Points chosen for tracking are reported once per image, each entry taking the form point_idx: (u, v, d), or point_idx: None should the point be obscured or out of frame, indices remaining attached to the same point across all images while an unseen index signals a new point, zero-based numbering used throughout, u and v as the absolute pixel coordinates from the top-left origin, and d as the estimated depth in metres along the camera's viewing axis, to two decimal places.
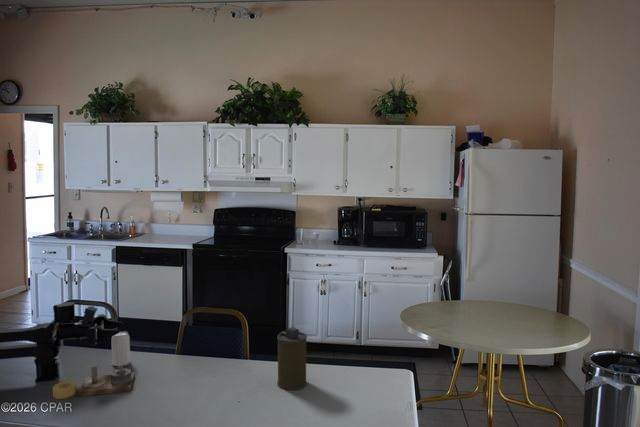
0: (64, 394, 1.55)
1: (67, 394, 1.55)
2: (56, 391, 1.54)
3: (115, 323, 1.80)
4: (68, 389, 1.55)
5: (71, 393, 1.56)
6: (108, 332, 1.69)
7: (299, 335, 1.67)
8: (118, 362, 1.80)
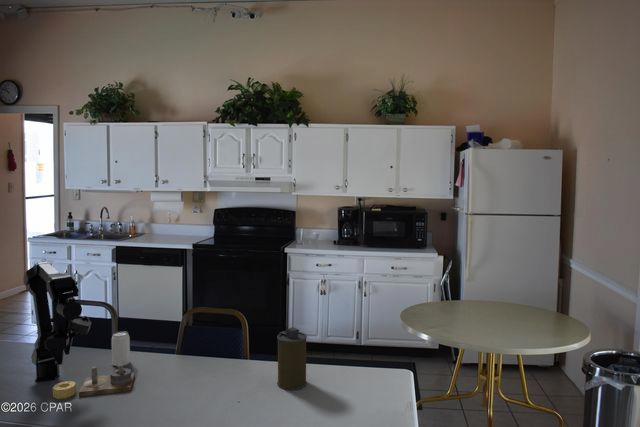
0: (64, 394, 1.55)
1: (67, 394, 1.55)
2: (56, 391, 1.54)
3: (67, 346, 1.61)
4: (68, 389, 1.55)
5: (71, 393, 1.56)
6: (59, 355, 1.51)
7: (299, 335, 1.67)
8: (118, 362, 1.80)
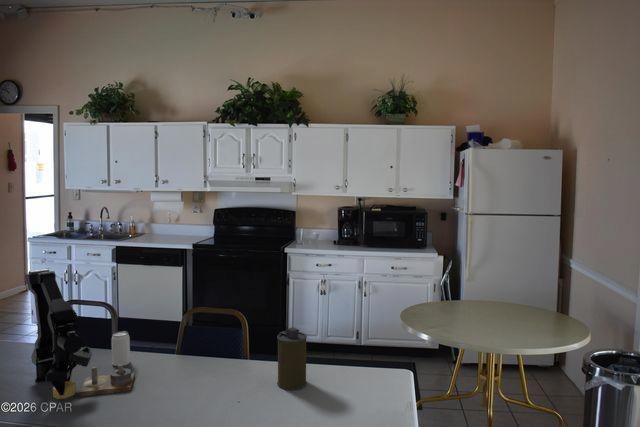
0: (64, 394, 1.55)
1: (67, 394, 1.55)
2: (56, 391, 1.54)
3: (67, 378, 1.61)
4: (68, 389, 1.55)
5: (71, 393, 1.56)
6: (61, 386, 1.53)
7: (299, 335, 1.67)
8: (118, 362, 1.80)
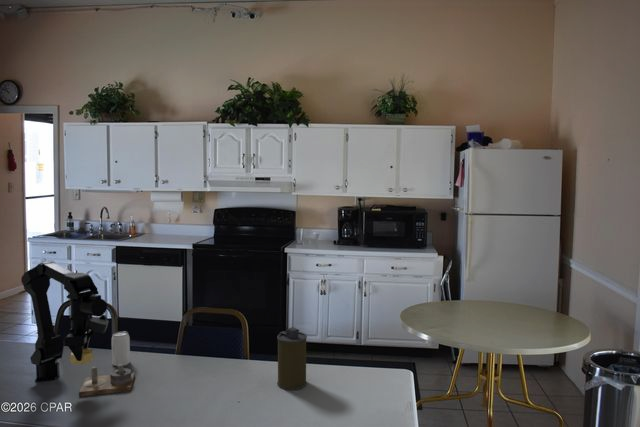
0: (81, 360, 1.57)
1: (84, 360, 1.57)
2: (74, 357, 1.56)
3: (84, 346, 1.63)
4: (85, 355, 1.57)
5: (88, 359, 1.58)
6: (79, 351, 1.55)
7: (299, 335, 1.67)
8: (118, 362, 1.80)
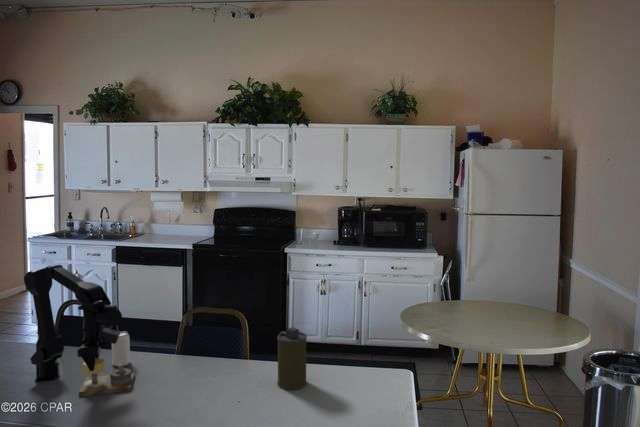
0: (94, 370, 1.59)
1: (97, 370, 1.60)
2: (86, 367, 1.59)
3: (96, 355, 1.65)
4: (98, 365, 1.60)
5: (100, 369, 1.61)
6: (91, 362, 1.58)
7: (299, 335, 1.67)
8: (118, 362, 1.80)
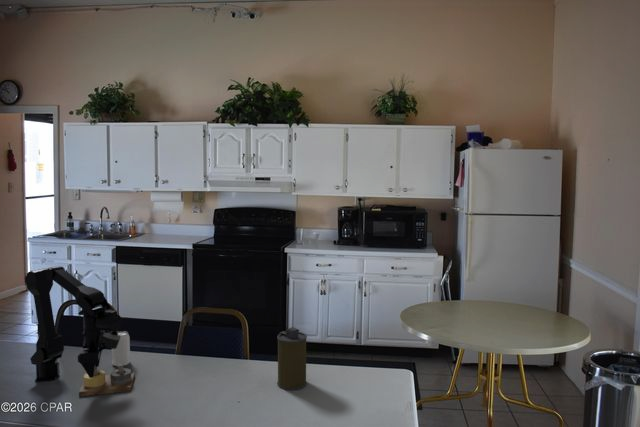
0: (94, 382, 1.60)
1: (97, 382, 1.60)
2: (87, 380, 1.59)
3: None
4: (98, 378, 1.61)
5: (101, 382, 1.61)
6: (91, 368, 1.57)
7: (299, 335, 1.67)
8: (118, 362, 1.80)
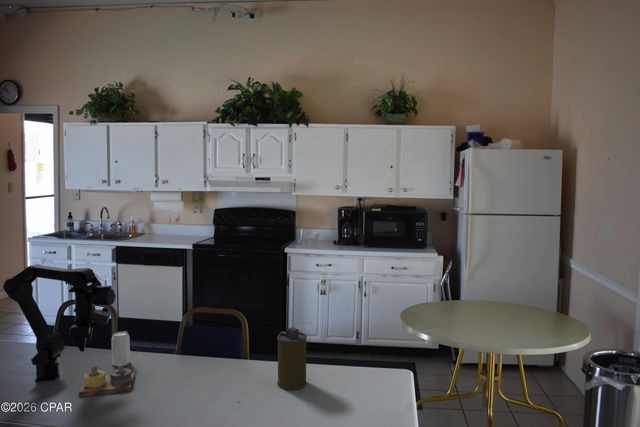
0: (94, 382, 1.60)
1: (97, 382, 1.60)
2: (87, 380, 1.59)
3: (88, 335, 1.73)
4: (98, 378, 1.61)
5: (101, 382, 1.61)
6: (82, 342, 1.63)
7: (299, 335, 1.67)
8: (118, 362, 1.80)
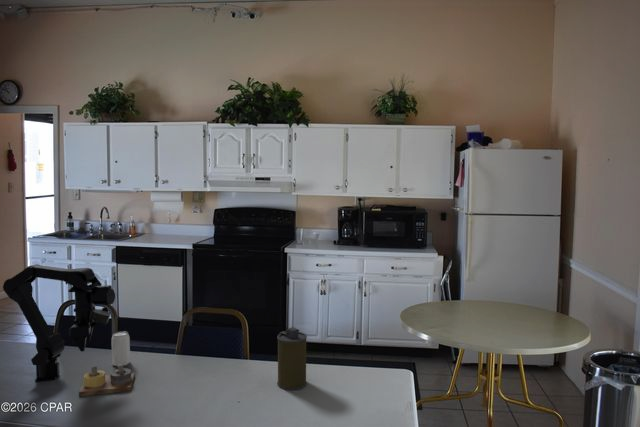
0: (94, 382, 1.60)
1: (97, 382, 1.60)
2: (87, 380, 1.59)
3: (88, 335, 1.73)
4: (98, 378, 1.61)
5: (101, 382, 1.61)
6: (82, 342, 1.63)
7: (299, 335, 1.67)
8: (118, 362, 1.80)
